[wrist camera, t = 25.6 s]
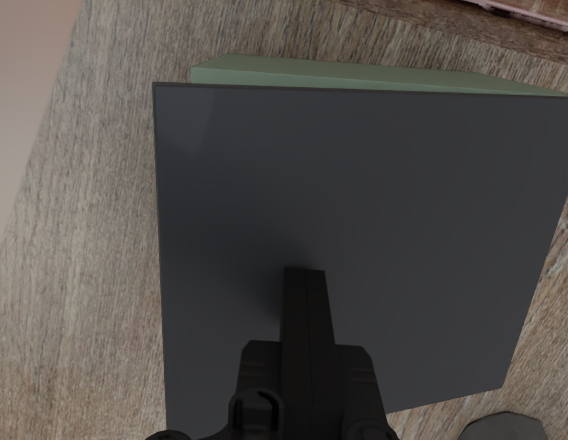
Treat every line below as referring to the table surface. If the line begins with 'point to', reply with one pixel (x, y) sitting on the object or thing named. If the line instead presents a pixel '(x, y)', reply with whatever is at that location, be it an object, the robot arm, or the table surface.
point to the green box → (352, 76)
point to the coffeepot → (504, 428)
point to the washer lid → (352, 230)
